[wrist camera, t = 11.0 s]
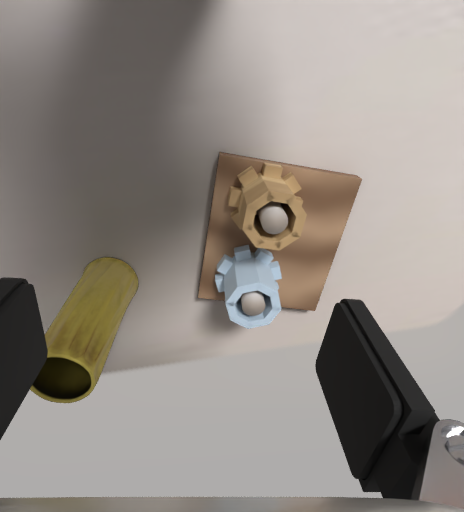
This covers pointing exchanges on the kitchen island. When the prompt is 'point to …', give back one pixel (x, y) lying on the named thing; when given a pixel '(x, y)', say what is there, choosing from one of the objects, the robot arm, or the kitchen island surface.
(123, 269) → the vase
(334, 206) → the board
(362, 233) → the kitchen island surface
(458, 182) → the kitchen island surface
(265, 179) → the oak gear
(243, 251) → the gear
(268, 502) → the robot arm
